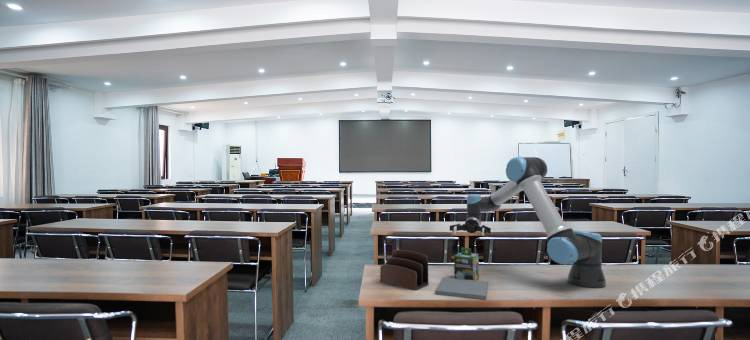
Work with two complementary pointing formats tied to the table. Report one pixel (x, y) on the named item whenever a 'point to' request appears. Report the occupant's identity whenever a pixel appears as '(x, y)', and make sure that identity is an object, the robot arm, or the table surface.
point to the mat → (462, 288)
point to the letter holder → (405, 269)
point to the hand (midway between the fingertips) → (468, 231)
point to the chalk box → (466, 265)
